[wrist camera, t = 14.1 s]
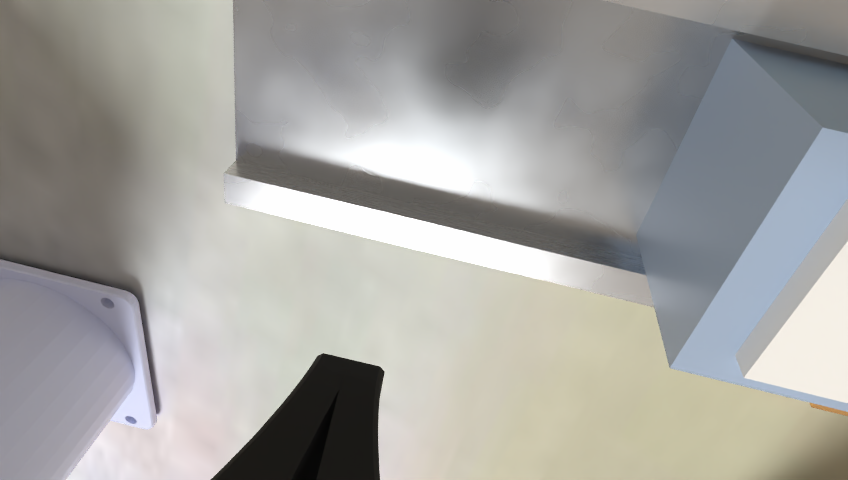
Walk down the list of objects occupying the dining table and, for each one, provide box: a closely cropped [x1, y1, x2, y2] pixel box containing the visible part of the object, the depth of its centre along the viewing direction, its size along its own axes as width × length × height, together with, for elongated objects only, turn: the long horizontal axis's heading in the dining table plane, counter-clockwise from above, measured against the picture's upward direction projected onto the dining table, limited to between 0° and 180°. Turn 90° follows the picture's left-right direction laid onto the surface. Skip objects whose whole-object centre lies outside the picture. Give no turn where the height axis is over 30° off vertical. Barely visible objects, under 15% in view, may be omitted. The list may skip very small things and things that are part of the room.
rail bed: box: [224, 0, 848, 416], centre depth 14 cm, size 18×9×4 cm, turn 80°
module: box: [636, 38, 848, 412], centre depth 12 cm, size 4×6×6 cm
